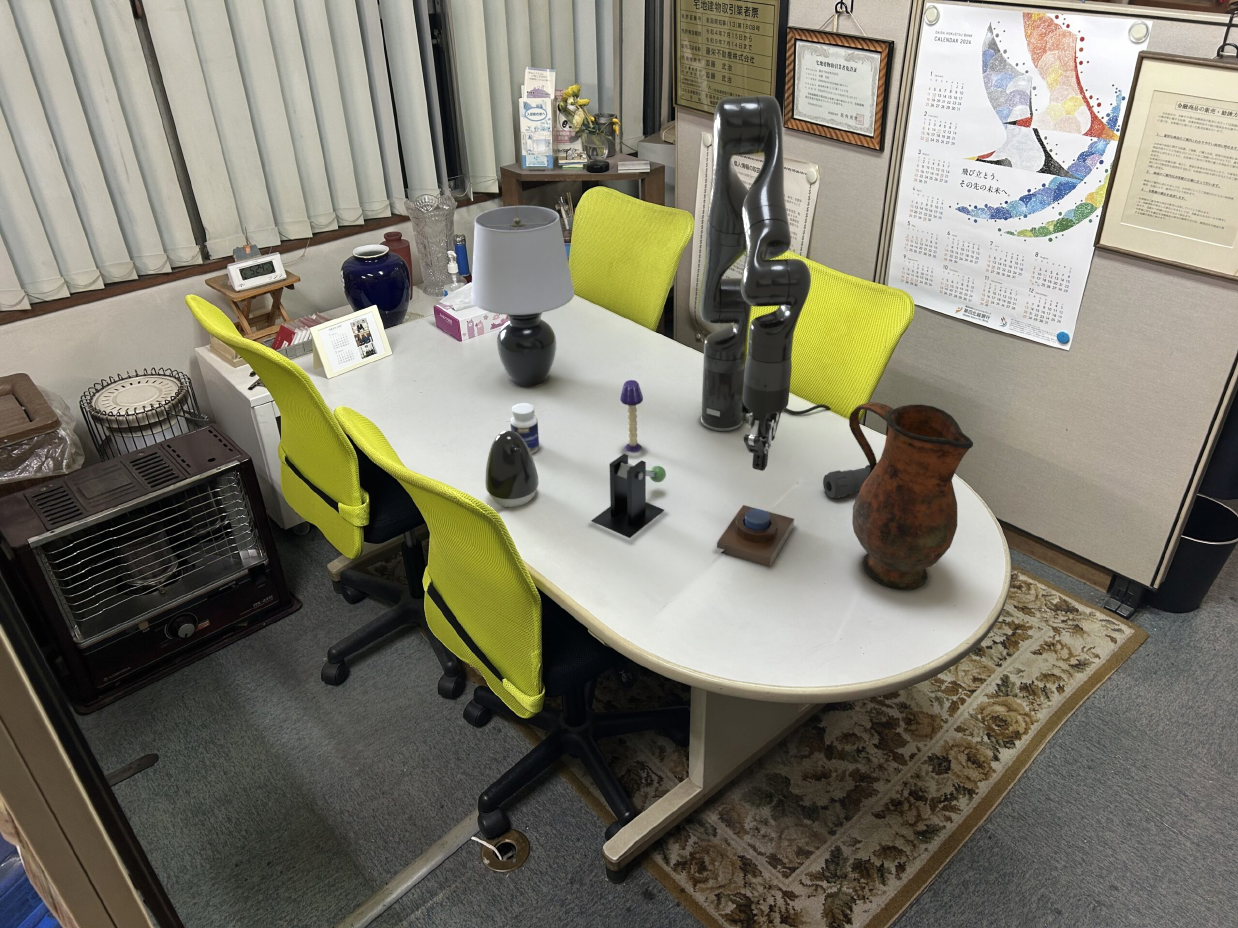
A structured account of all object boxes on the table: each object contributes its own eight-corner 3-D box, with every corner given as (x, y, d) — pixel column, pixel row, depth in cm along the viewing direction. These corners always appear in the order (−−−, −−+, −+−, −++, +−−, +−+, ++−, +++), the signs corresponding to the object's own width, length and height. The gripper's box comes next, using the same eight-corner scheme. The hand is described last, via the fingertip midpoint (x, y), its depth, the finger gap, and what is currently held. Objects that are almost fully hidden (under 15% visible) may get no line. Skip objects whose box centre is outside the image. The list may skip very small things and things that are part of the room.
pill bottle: (520, 458, 187) (516, 417, 182) (508, 446, 191) (504, 406, 186) (544, 450, 189) (541, 409, 184) (531, 439, 194) (528, 398, 188)
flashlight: (832, 505, 171) (835, 481, 168) (819, 490, 175) (821, 467, 172) (902, 490, 175) (906, 467, 172) (887, 476, 179) (891, 453, 176)
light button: (749, 514, 162) (750, 506, 161) (772, 520, 161) (773, 512, 160) (741, 527, 159) (741, 519, 158) (764, 533, 157) (765, 525, 156)
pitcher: (910, 616, 144) (943, 459, 128) (805, 556, 157) (824, 407, 142) (965, 573, 153) (1002, 421, 137) (861, 519, 167) (884, 376, 151)
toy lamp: (640, 459, 186) (640, 388, 177) (619, 457, 187) (617, 386, 178) (644, 448, 190) (645, 378, 181) (623, 446, 191) (622, 376, 182)
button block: (742, 514, 169) (743, 496, 167) (793, 528, 165) (795, 510, 163) (716, 551, 159) (717, 533, 157) (769, 567, 155) (771, 549, 153)
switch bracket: (626, 498, 174) (626, 442, 167) (664, 514, 169) (665, 457, 162) (591, 525, 166) (589, 467, 159) (629, 542, 162) (629, 484, 155)
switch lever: (652, 479, 173) (657, 464, 173) (665, 484, 172) (670, 469, 171) (614, 476, 162) (619, 459, 161) (628, 481, 160) (633, 465, 160)
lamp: (596, 371, 221) (591, 212, 200) (539, 411, 204) (527, 241, 183) (520, 351, 232) (508, 197, 211) (460, 387, 215) (440, 224, 194)
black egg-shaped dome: (499, 521, 168) (491, 452, 160) (480, 493, 176) (472, 427, 168) (548, 506, 172) (543, 438, 164) (527, 480, 180) (522, 414, 172)
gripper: (776, 401, 138) (767, 492, 148) (801, 366, 148) (792, 454, 158) (730, 391, 141) (725, 481, 151) (759, 358, 151) (752, 445, 161)
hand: (759, 467), depth 154 cm, fingers closed
